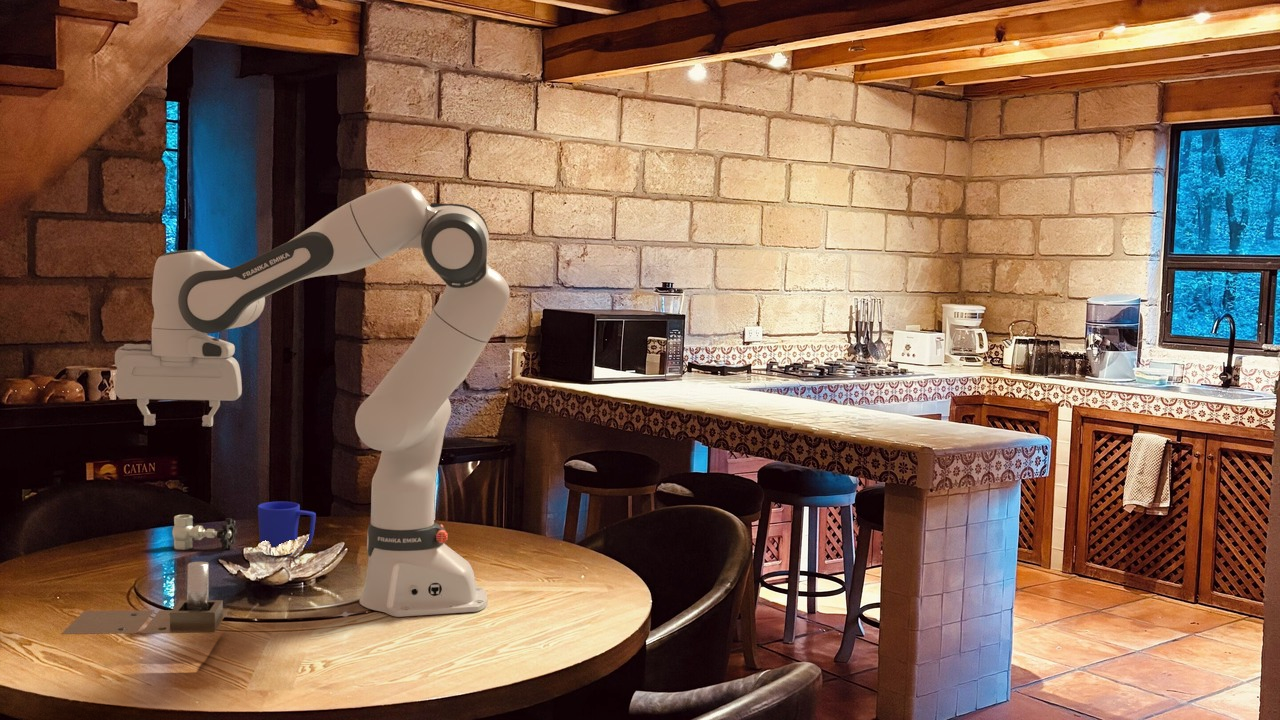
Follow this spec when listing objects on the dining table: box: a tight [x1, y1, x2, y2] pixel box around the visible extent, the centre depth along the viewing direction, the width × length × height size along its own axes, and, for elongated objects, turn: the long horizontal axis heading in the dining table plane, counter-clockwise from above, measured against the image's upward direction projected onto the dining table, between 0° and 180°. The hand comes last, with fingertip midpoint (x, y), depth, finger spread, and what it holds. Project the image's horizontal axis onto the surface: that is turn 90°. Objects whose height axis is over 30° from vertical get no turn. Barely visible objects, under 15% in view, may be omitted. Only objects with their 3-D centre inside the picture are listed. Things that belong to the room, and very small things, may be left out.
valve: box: [172, 514, 238, 551], centre depth 242 cm, size 7×7×12 cm
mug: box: [257, 501, 317, 549], centre depth 239 cm, size 8×12×10 cm
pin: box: [186, 561, 210, 611], centre depth 191 cm, size 3×3×9 cm
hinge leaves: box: [60, 599, 229, 635], centre depth 190 cm, size 23×12×4 cm, turn 99°
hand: (178, 425), depth 201 cm, fingers open, 8 cm apart
